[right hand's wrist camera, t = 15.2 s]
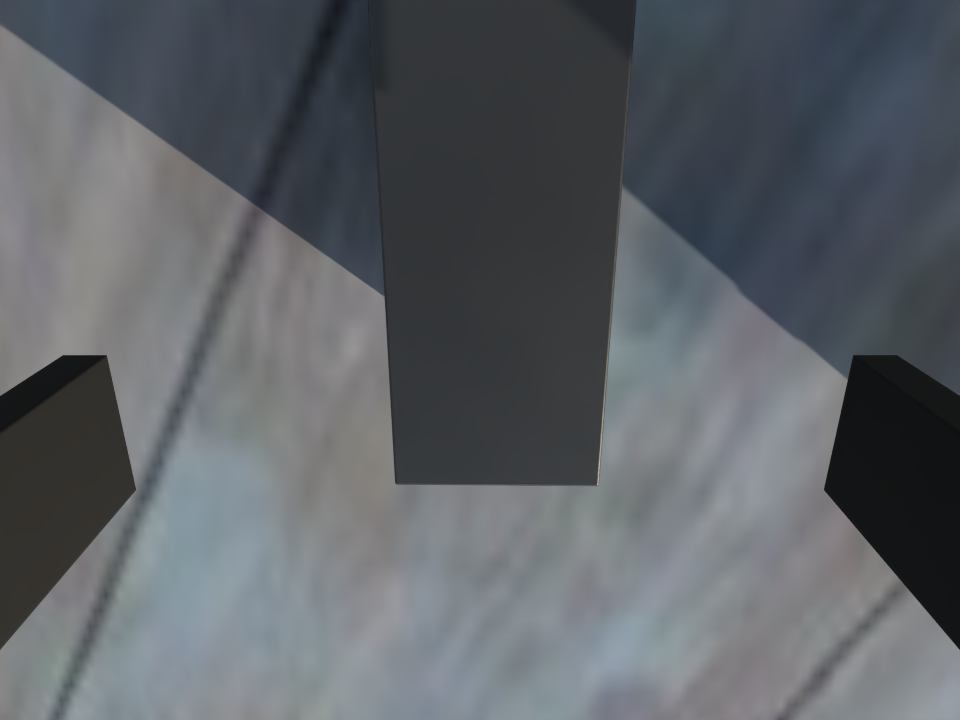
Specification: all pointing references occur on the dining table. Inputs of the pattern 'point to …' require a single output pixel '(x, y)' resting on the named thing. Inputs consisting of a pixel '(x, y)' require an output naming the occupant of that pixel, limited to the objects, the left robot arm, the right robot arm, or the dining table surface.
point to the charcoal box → (499, 231)
